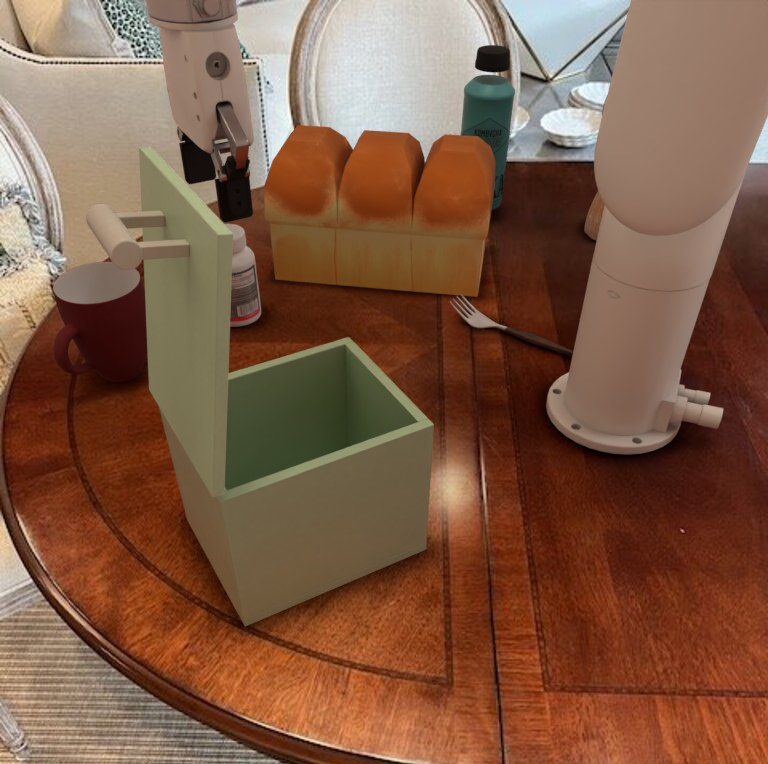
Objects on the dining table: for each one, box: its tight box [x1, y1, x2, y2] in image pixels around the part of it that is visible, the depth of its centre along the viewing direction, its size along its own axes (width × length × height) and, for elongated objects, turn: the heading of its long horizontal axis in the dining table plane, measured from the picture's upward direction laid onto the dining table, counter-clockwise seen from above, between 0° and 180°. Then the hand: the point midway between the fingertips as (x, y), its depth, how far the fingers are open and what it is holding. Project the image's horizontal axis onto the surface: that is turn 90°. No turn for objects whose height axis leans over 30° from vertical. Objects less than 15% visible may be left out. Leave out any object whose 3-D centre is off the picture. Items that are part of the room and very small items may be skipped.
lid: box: [85, 146, 233, 497], centre depth 46 cm, size 16×13×5 cm
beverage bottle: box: [459, 44, 516, 211], centre depth 99 cm, size 6×7×20 cm
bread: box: [263, 124, 496, 298], centre depth 91 cm, size 25×12×15 cm, turn 81°
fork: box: [448, 293, 574, 357], centre depth 84 cm, size 3×16×2 cm, turn 53°
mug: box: [52, 261, 148, 383], centre depth 75 cm, size 11×8×10 cm
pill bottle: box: [224, 223, 262, 328], centre depth 84 cm, size 5×5×10 cm
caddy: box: [158, 336, 435, 627], centre depth 59 cm, size 16×13×13 cm
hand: (218, 199), depth 78 cm, fingers open, 9 cm apart
